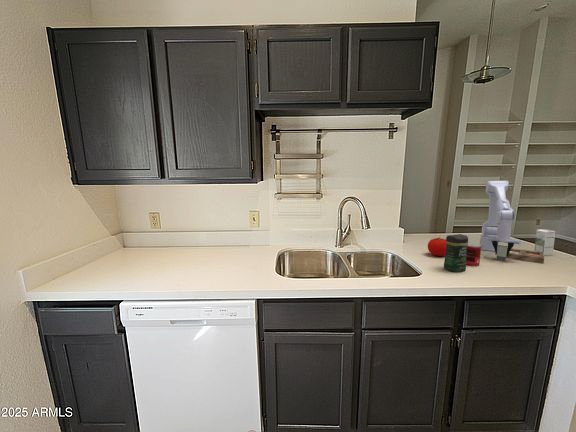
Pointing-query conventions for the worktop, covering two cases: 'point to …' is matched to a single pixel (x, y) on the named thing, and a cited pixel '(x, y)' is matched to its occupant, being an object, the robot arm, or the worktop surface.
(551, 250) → the syrup box
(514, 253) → the socket board
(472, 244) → the canned food
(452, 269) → the coffee jar
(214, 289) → the worktop surface
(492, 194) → the robot arm
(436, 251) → the tomato
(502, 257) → the grey-green block
